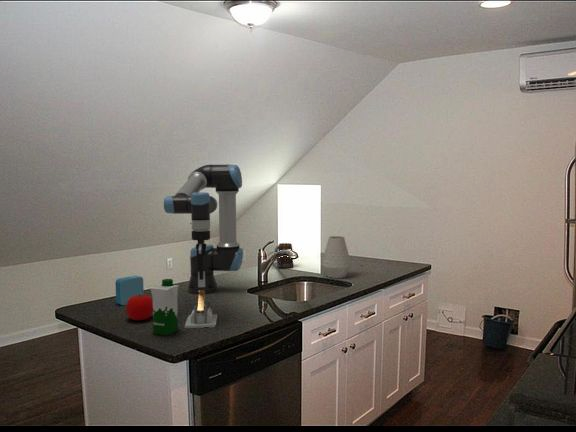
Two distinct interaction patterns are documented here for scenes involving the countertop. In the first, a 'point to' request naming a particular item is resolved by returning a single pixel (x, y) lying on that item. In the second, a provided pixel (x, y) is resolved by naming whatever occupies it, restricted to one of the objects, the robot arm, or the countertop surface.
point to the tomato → (139, 307)
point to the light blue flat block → (128, 288)
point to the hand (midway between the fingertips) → (201, 286)
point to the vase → (336, 258)
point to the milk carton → (165, 308)
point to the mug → (284, 257)
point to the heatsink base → (201, 325)
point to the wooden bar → (201, 301)
